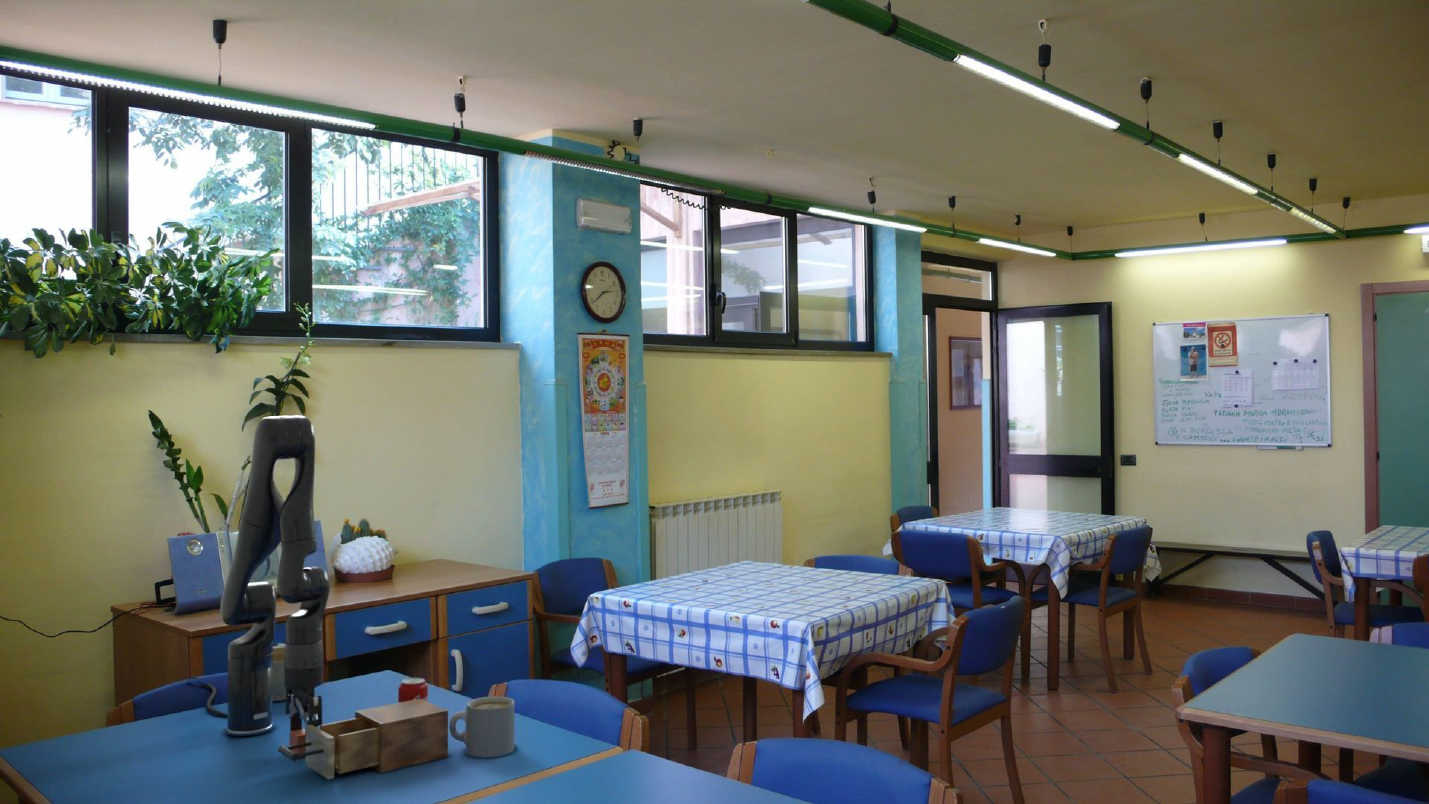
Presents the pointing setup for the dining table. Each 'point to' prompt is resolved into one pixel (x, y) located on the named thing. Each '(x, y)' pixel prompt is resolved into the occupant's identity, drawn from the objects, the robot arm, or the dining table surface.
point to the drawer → (339, 747)
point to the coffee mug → (486, 726)
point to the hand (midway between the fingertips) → (303, 741)
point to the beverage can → (413, 690)
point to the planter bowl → (278, 675)
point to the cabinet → (409, 733)
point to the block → (297, 740)
